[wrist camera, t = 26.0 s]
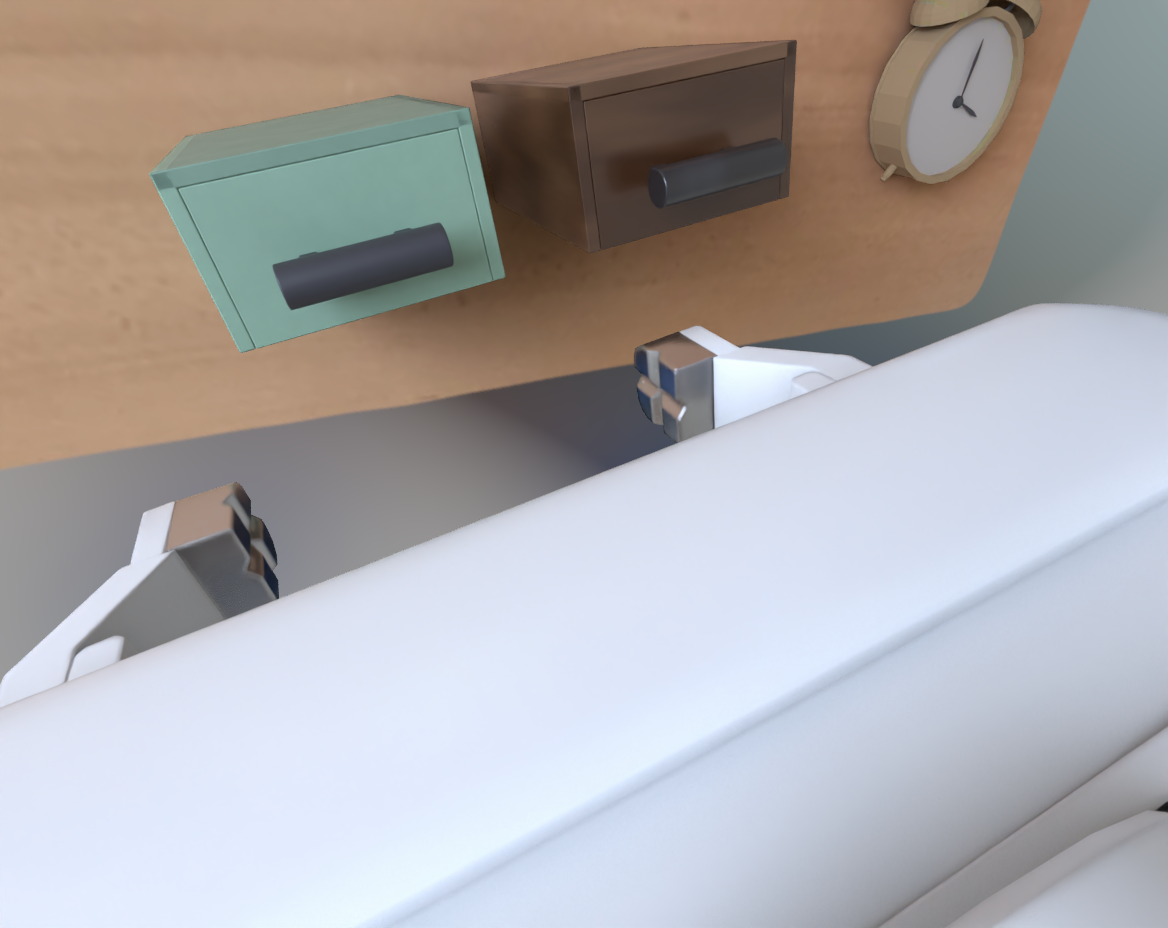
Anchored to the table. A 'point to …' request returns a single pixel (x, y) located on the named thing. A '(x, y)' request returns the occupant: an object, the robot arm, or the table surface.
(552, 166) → the walnut shelf
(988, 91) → the alarm clock
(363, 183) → the sage shelf
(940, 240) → the table surface
